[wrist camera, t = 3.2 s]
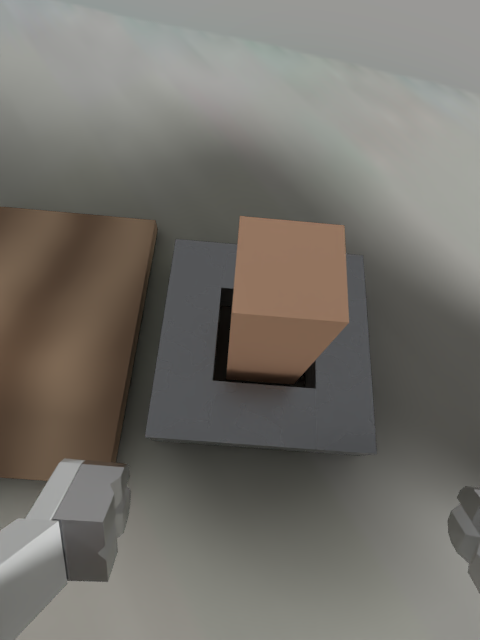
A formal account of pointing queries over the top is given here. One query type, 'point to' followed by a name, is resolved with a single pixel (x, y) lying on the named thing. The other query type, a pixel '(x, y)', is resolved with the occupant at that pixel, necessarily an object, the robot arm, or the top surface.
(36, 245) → the board
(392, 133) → the top surface
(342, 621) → the top surface
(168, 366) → the socket
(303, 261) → the peg
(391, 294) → the top surface
